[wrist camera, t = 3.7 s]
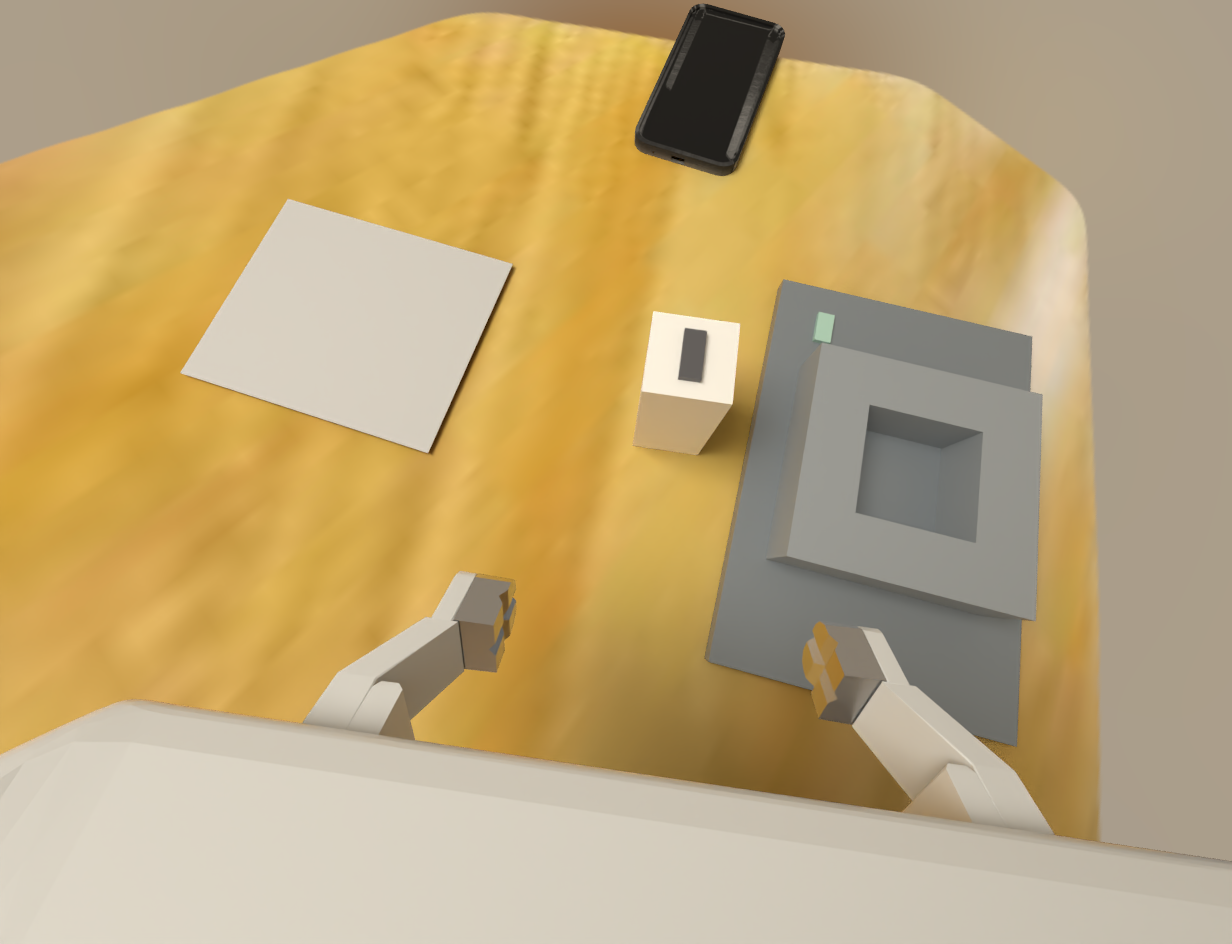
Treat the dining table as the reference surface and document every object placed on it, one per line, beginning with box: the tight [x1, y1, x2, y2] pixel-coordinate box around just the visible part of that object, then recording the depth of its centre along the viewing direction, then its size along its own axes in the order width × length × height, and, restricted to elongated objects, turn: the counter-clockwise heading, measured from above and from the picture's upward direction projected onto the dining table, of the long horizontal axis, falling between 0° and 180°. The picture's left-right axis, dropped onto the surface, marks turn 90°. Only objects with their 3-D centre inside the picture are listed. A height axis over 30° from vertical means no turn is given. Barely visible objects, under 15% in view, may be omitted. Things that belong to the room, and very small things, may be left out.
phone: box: [635, 4, 785, 176], centre depth 34 cm, size 8×1×15 cm
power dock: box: [705, 280, 1042, 747], centre depth 25 cm, size 24×16×4 cm, turn 165°
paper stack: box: [181, 199, 513, 453], centre depth 30 cm, size 23×25×1 cm
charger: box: [633, 311, 740, 455], centre depth 24 cm, size 4×4×8 cm
